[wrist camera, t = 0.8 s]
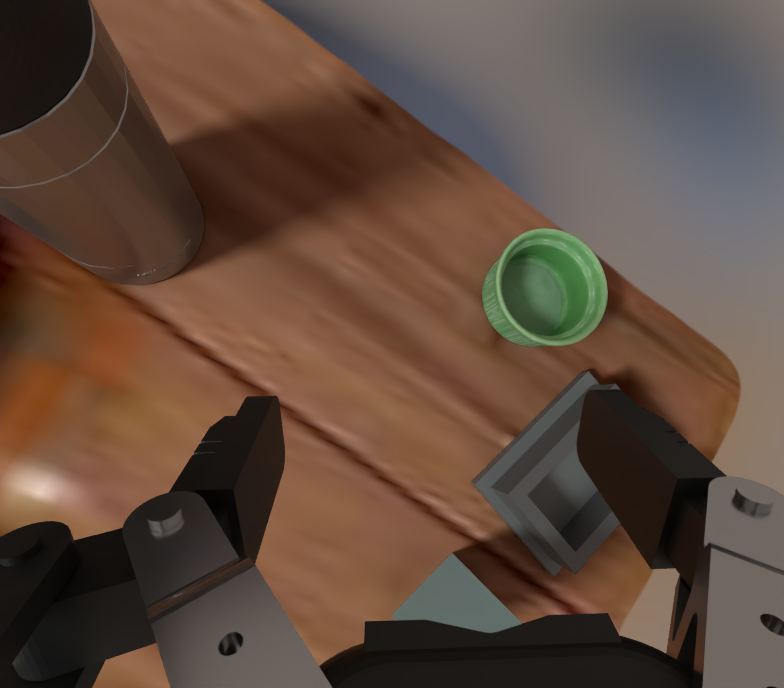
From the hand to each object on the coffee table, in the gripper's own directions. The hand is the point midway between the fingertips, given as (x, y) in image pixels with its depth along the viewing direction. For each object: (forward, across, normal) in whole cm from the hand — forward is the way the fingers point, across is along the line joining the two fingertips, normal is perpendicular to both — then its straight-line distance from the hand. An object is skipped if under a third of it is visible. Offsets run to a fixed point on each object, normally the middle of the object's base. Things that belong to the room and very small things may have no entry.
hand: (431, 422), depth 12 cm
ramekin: (+26, -11, +4) cm, 28 cm away
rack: (+18, -13, +16) cm, 28 cm away
